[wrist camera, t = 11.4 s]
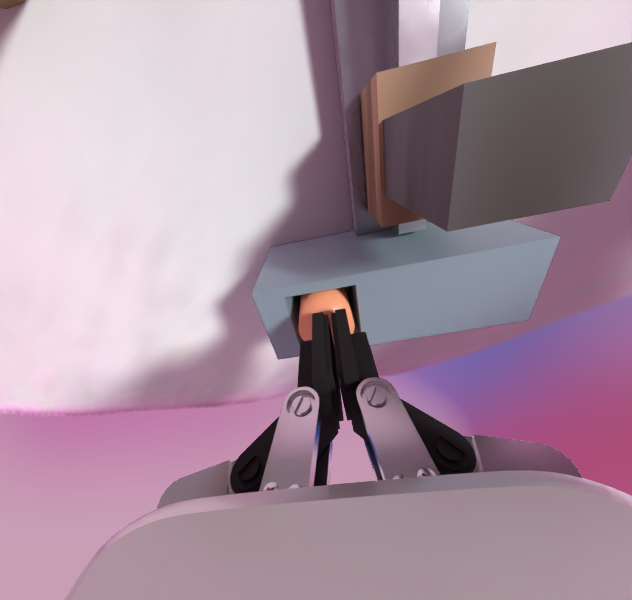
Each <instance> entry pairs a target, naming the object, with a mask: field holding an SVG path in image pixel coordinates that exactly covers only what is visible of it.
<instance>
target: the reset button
mask: <svg viewBox="0 0 632 600" xmlns="http://www.w3.org/2000/svg"><path fill="white" fill-rule="evenodd" d="M343 308H345V309H346V314H347V319H348V324H349V328H350V333H351V334H353V332H354V328H355V325H354V320H353V316H352V312H351V308H350V305H349V301H348V297H347V293H346V289H345V287H341V288H335V289H330V290H324V291H319V292H313V293H308V294H302V295H301V297H300V313H299V334H300V336H301V338H302V339H303V340H304V341H308V340H312V314H313V313H319V312H323V314H328V318H329V323H330V328H331V332H332V337H333V329H332V319H331V313H335V310H337V309H343ZM333 342H334V338H333Z"/></svg>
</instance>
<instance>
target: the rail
mask: <svg viewBox="0 0 632 600" xmlns="http://www.w3.org/2000/svg"><path fill="white" fill-rule="evenodd" d="M469 4H470V0H330V7H331V16H332V26H333V35H334V45H335V54H336V64H337V73H338V83H339V92H340V102H341V111H342V121H343V131H344V140H345V150H346V159H347V169H348V178H349V188H350V197H351V207H352V216H353V226H354V231H355V233H356V235H357V236H362V235H367V234H372V233H377V232H382V231H387V230H392V229H393V230H394V231H395V232H397V233H398V234H404V233H409V232H414V231H419V230H425V229H426V223H428V222H429V221H427V220H426V219H423V220H418V221H413V222H408V223H403V224H398V225H393V226H388V227H383V228H382V227H381V226H380V225H379V224H378V223H377V222H376V221H375V220H374V219H373V217H372V216H371V215H370V214H369V213H368V200H367V186H366V171H365V156H364V142H363V127H362V112H361V98H360V92H361V91H362V90H363V88H364V87H365V86H366V85H367V84H368V82H369V81H370V80H371V79H372V77H373V76H374V75H375V74H376V73H377V72H381V71H385V70H389V69H393V68H397V67H401V66H405V65H408V64H412V63H416V62H420V61H424V60H428V59H432V58H436V57H440V56H444V55H447V54H451V53H455V52H459V51H463V50H465V41H466V32H467V23H468V14H469Z"/></svg>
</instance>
